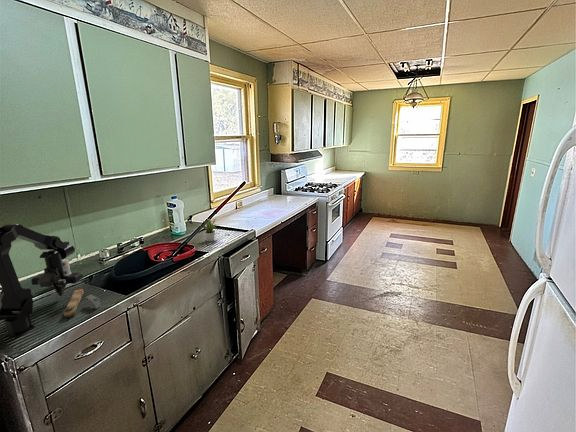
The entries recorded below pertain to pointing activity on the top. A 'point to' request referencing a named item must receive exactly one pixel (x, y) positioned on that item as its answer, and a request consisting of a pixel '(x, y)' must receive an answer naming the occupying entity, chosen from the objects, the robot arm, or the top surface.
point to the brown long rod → (73, 303)
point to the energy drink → (66, 266)
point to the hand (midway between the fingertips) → (61, 295)
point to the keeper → (94, 301)
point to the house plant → (209, 230)
